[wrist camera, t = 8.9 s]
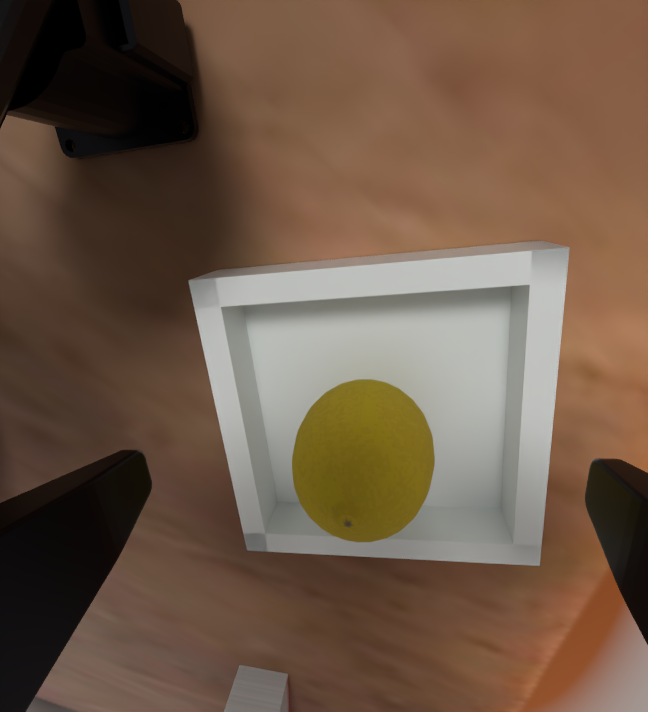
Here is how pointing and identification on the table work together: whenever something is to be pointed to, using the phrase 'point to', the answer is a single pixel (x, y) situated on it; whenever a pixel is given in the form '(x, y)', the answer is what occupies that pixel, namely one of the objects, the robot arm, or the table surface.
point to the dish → (403, 370)
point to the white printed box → (258, 691)
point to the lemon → (363, 460)
